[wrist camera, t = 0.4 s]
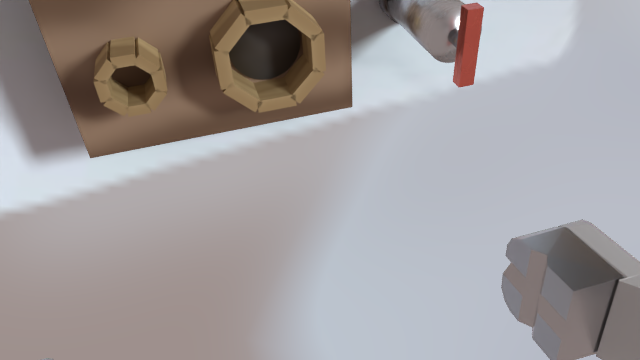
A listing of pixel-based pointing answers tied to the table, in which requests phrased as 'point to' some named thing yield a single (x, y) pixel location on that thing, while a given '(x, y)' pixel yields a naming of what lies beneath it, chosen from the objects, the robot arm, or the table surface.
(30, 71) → the table surface
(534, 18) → the table surface
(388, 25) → the table surface
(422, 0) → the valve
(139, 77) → the manifold block
